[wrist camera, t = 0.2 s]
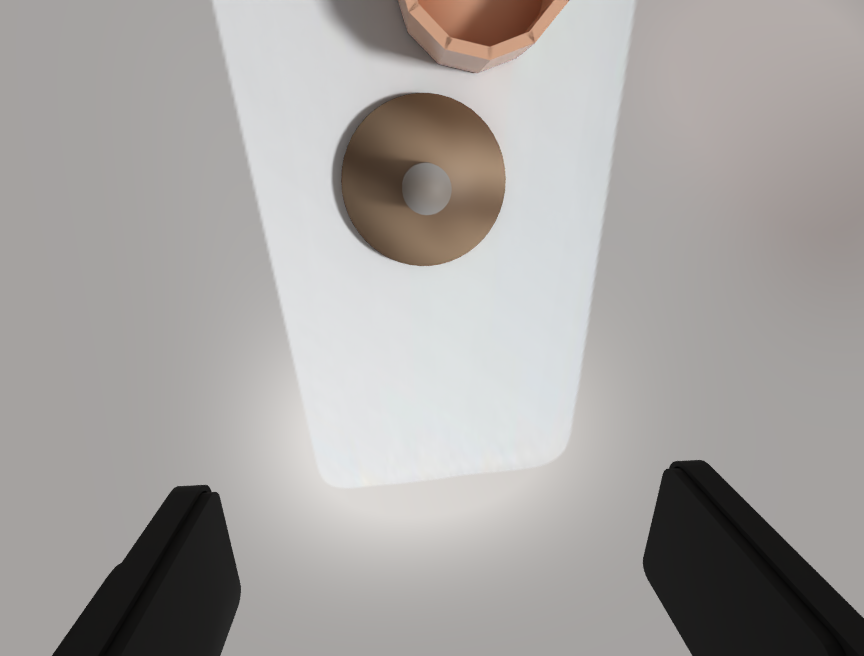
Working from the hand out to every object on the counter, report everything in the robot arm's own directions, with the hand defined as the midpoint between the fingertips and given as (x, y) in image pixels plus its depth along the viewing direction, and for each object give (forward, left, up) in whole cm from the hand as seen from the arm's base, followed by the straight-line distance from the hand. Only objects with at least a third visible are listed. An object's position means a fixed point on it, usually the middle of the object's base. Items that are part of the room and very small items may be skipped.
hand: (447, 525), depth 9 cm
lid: (-5, 0, -30) cm, 30 cm away
